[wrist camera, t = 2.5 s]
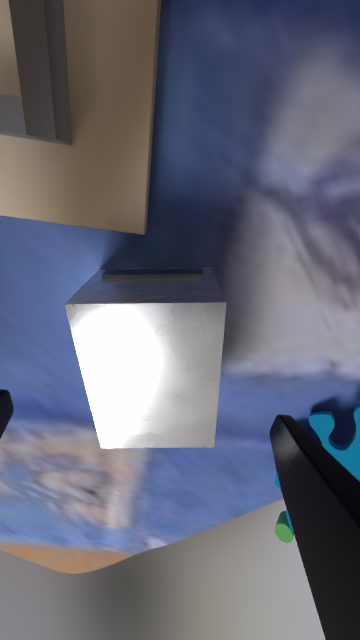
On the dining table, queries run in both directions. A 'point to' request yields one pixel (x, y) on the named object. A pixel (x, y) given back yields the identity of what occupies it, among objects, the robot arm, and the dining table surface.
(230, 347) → the dining table surface
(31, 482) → the dining table surface
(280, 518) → the gear
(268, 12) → the dining table surface
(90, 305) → the block
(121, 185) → the dock
